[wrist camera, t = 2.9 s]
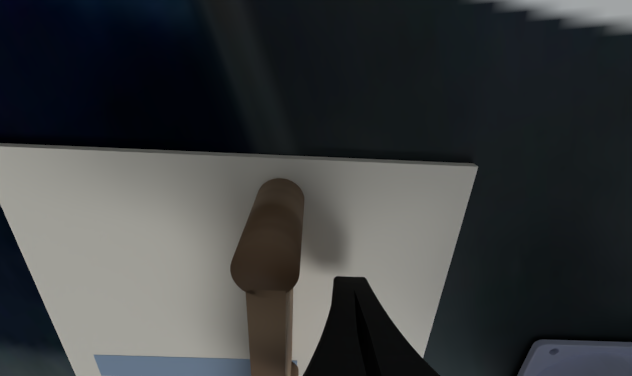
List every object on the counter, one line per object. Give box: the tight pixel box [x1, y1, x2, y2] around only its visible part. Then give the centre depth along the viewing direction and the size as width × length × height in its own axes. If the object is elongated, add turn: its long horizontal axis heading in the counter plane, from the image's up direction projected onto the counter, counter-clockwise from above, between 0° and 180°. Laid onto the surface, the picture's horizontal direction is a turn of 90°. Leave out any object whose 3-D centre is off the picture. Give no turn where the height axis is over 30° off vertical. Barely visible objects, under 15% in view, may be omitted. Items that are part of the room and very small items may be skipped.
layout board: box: [0, 143, 478, 376], centre depth 18 cm, size 20×24×1 cm
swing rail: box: [230, 178, 304, 376], centre depth 13 cm, size 13×2×5 cm, turn 177°
